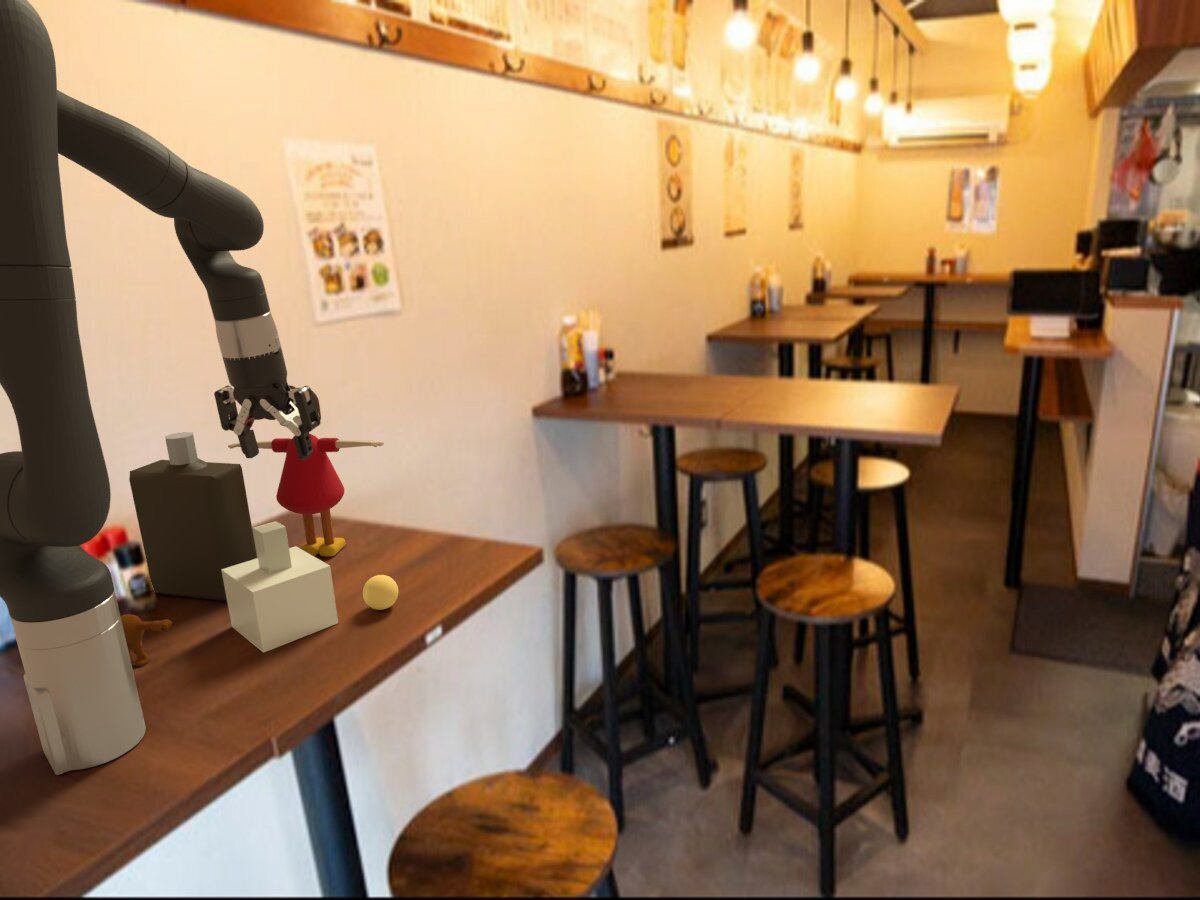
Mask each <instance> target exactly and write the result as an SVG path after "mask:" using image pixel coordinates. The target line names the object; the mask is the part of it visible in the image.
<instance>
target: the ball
mask: <svg viewBox="0 0 1200 900" xmlns="http://www.w3.org/2000/svg"><path fill="white" fill-rule="evenodd" d="M362 589H363V590H362V598H363V601H364V602H365V604H366V605H367V606H368V607H369V608H371V609H373V610H377V611H379V610H381V611H382V610H386V609H389V608H390V607H392V606H393V605H394V604H395V603H396V602H397V600H398V597H399V586H398V584H397V582H396V581H395V580H394V579H393V578H392V577H390V576H389V575H386V574H377V575H375V576H372V577H370V578H369V579H368V580H367V581H366V582H365V584H364V586H363V588H362Z"/></svg>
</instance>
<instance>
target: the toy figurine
mask: <svg viewBox="0 0 1200 900" xmlns="http://www.w3.org/2000/svg"><path fill="white" fill-rule="evenodd" d="M120 617H121V621H122V625H123V630H124V634H125V638H126V643H127V647H128V652H129V656H130V660H131V664H133V663H134V666H135V667H137V666H140V667H143V666H145V665H147V664H148V663H149V662H150V660H151V659H150V657H149V656H148V654H147V652H146V651H144V646H143V641H142V639H143V636H144V633H145V630H146V631H147V630H151V631H155V632H157V631H158V633H161V634H165V633H167V630H168V629H169V628H170V627H171V626H172V624H173V621H171V620H169V619H166V618H164V619H163V620H153V621H150V620H149V621H148V620H146V621H143V620H142V618H140V617H139V616H138V615H135V614H130V613H127V614H122V615H121V614H120ZM131 650H132V651H131ZM133 653H134V654H135V655H136V658H137V659H136V658H135V656H134V654H133ZM135 659H136V660H135ZM133 661H134V662H133ZM146 663H147V664H146Z"/></svg>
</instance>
